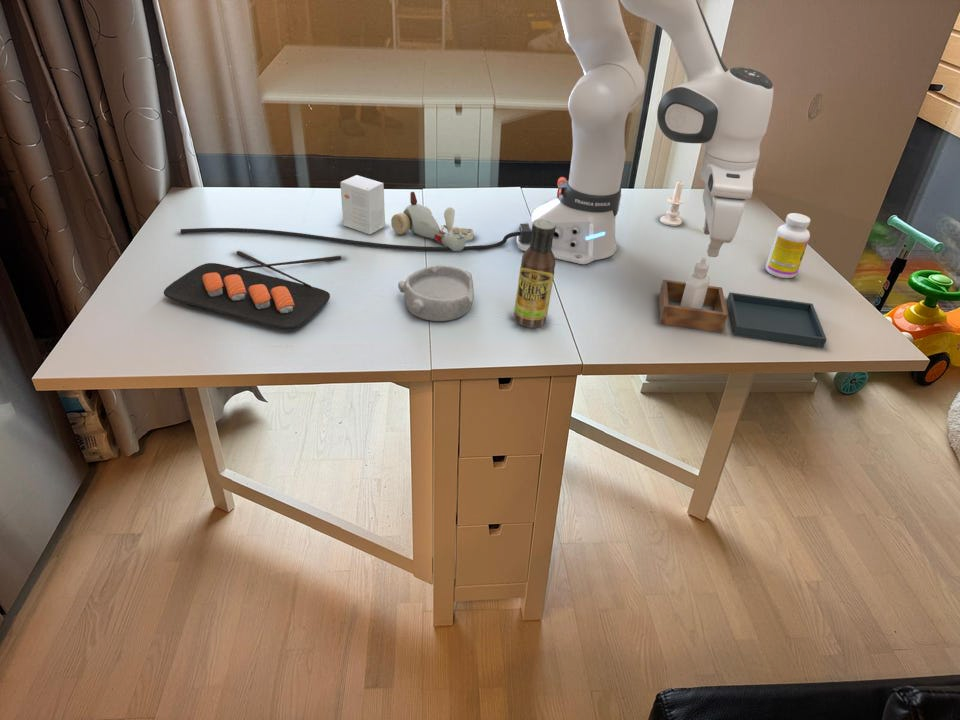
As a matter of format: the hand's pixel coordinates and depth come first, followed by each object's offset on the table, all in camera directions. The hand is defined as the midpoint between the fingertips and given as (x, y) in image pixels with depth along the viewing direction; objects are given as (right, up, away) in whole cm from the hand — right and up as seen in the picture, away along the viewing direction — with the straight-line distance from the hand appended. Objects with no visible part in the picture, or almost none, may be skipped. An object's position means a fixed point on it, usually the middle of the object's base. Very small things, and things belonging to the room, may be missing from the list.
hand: (709, 244), depth 131 cm
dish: (-50, -11, +6) cm, 52 cm away
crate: (-1, -12, +9) cm, 15 cm away
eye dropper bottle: (-1, -12, +9) cm, 15 cm away
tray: (+15, -14, +8) cm, 22 cm away
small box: (-68, +9, +33) cm, 76 cm away
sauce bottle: (-33, -14, +4) cm, 36 cm away
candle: (+5, +13, +45) cm, 47 cm away
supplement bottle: (+24, -2, +26) cm, 35 cm away
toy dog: (-53, +6, +30) cm, 61 cm away
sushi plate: (-83, -6, +9) cm, 83 cm away
